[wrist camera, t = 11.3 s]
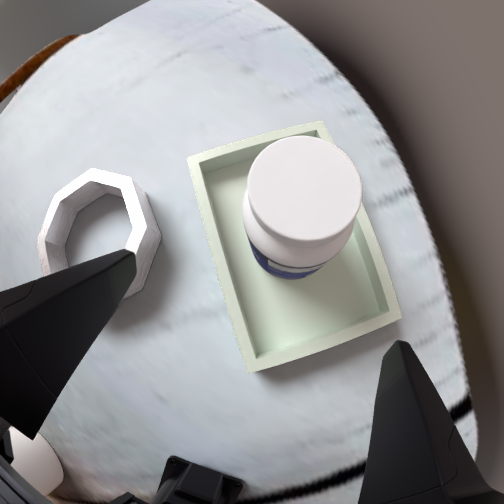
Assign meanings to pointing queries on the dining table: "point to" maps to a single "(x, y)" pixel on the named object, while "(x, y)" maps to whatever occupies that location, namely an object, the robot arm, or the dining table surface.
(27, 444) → the candle holder
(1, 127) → the dining table surface
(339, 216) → the pill bottle
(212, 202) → the sage tray
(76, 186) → the steel collar
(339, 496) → the dining table surface
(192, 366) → the dining table surface
